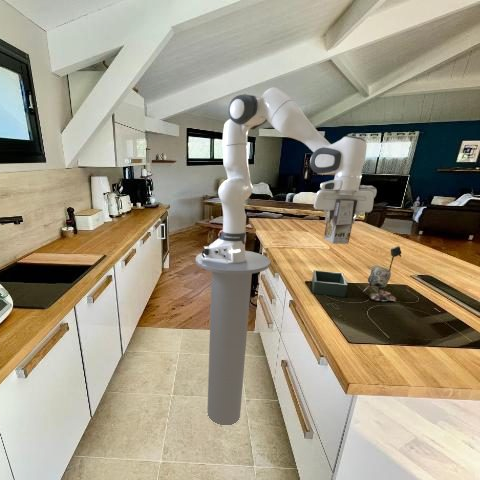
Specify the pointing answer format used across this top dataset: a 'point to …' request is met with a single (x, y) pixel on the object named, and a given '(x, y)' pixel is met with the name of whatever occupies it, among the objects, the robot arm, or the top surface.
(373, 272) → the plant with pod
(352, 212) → the coffee box
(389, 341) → the top surface
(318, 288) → the open box frame
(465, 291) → the top surface
